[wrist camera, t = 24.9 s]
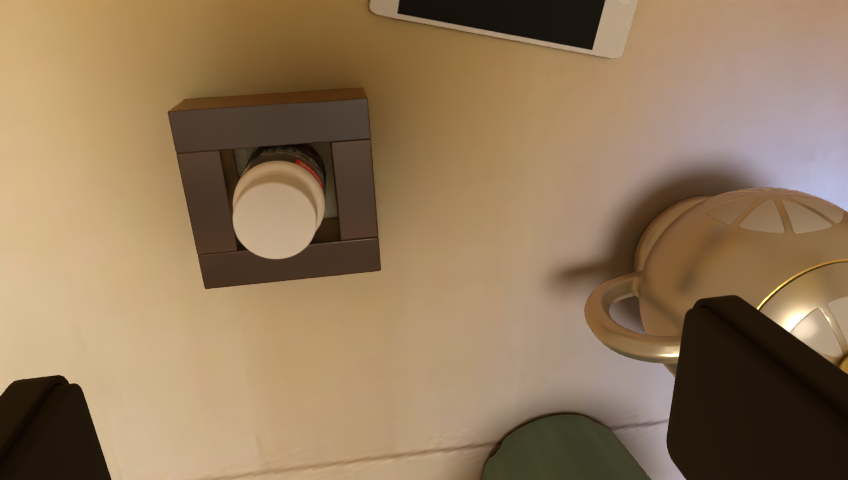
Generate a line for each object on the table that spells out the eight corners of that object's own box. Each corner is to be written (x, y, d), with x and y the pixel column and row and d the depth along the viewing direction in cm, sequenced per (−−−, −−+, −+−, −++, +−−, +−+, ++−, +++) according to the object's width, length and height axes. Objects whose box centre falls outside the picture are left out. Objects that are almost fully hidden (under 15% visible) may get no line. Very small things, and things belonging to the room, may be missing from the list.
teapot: (794, 144, 41) (1067, 228, 26) (770, 313, 46) (984, 465, 31) (544, 182, 39) (681, 297, 24) (549, 354, 44) (664, 536, 29)
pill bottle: (336, 151, 36) (339, 192, 28) (312, 220, 37) (309, 277, 30) (259, 125, 35) (240, 160, 27) (237, 197, 36) (213, 250, 28)
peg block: (184, 99, 33) (167, 111, 30) (363, 87, 35) (367, 98, 31) (216, 261, 37) (204, 289, 34) (375, 245, 39) (381, 271, 35)
